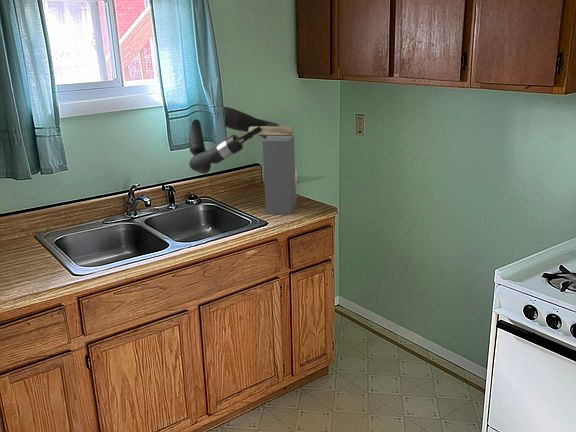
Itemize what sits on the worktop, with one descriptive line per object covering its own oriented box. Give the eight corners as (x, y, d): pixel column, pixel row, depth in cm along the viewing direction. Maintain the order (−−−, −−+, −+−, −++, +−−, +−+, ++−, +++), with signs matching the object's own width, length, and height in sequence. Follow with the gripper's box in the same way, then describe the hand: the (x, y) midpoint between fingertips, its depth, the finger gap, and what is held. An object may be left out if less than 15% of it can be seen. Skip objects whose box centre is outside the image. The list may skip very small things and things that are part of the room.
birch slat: (251, 133, 259) (250, 126, 258) (293, 133, 256) (293, 126, 255) (248, 134, 256) (248, 128, 255) (292, 135, 252) (291, 128, 251)
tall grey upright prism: (272, 204, 269) (269, 134, 259) (296, 205, 267) (293, 134, 257) (265, 214, 256) (262, 140, 246) (290, 214, 254) (288, 140, 244)
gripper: (220, 142, 254) (253, 122, 248) (229, 136, 267) (260, 117, 262) (230, 157, 255) (263, 137, 250) (238, 150, 268) (269, 131, 263)
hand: (261, 127), depth 256 cm, fingers closed on birch slat, 3 cm apart
